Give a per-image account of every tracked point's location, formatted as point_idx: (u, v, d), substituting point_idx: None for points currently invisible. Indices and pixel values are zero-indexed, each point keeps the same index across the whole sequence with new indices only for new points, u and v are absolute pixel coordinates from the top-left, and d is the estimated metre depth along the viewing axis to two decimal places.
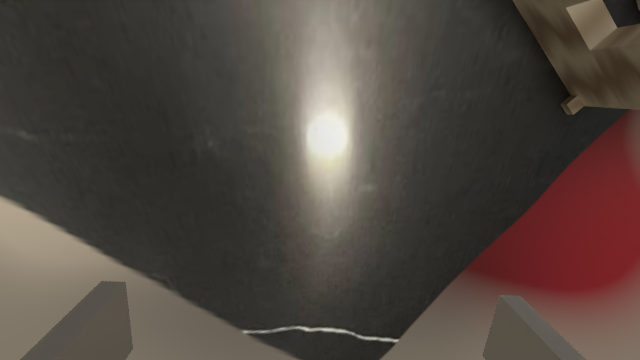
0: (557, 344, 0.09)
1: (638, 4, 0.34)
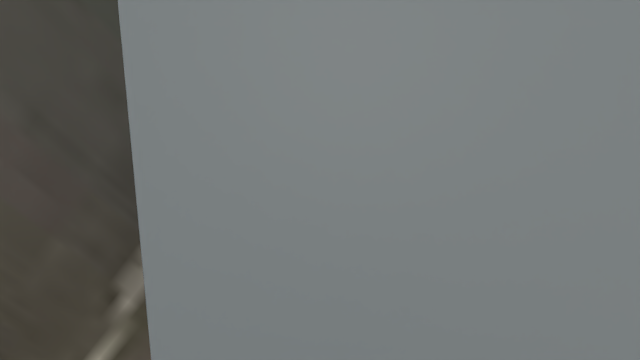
0: None
1: None
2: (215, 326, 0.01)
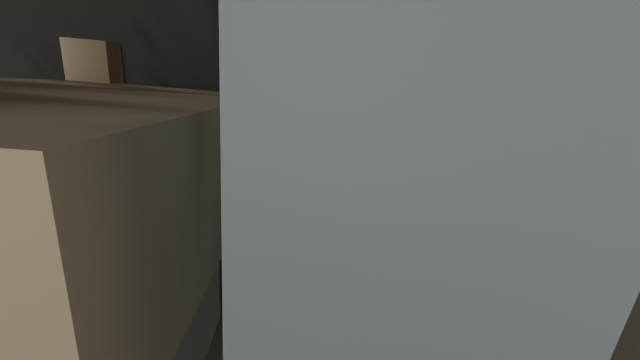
0: None
1: None
2: (253, 227, 0.02)
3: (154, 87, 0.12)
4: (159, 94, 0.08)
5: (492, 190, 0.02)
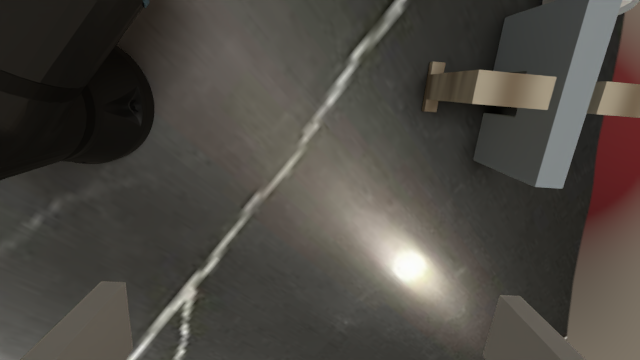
0: (557, 344, 0.09)
1: None
2: (567, 82, 0.29)
3: None
4: None
5: (583, 80, 0.29)
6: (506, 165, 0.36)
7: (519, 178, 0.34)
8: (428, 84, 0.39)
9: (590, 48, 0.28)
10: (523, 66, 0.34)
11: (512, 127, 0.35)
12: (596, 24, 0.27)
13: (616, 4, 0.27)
